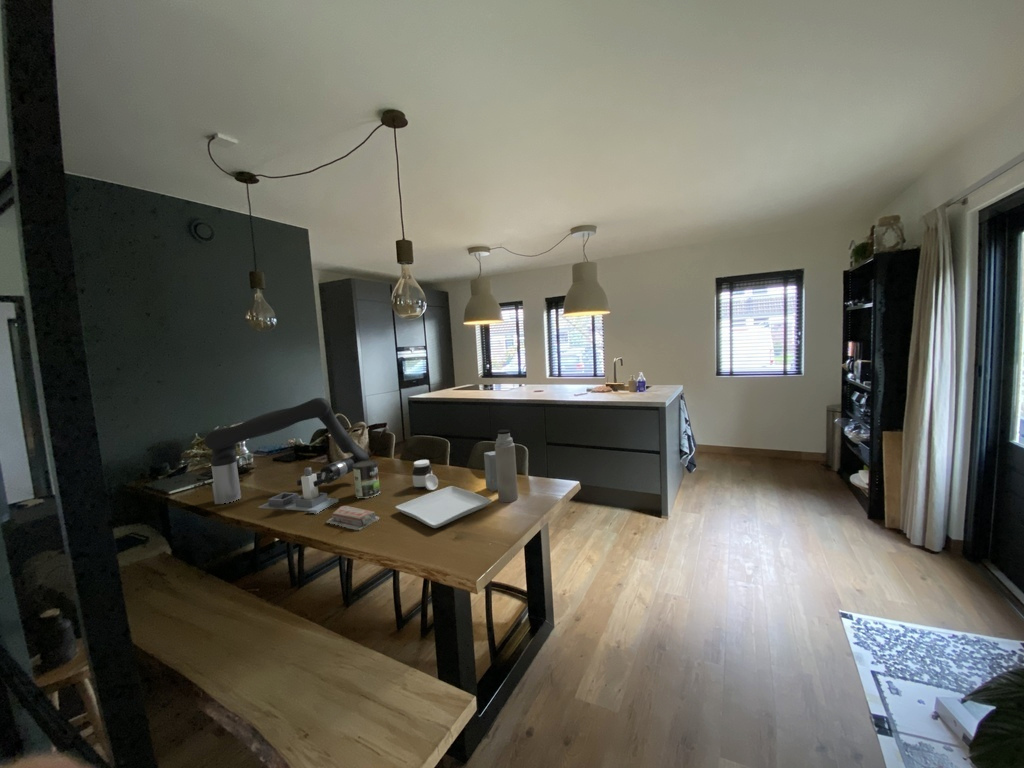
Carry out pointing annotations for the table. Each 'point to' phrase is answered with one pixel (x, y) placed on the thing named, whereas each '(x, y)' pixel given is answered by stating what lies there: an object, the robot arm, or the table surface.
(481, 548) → the table surface
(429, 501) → the square plate
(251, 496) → the table surface
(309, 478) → the plug
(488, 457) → the skincare box
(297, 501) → the panel
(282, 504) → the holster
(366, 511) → the packaged product
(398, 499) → the table surface
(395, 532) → the table surface
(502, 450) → the thermos bottle
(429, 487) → the spread jar
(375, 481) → the coffee can
